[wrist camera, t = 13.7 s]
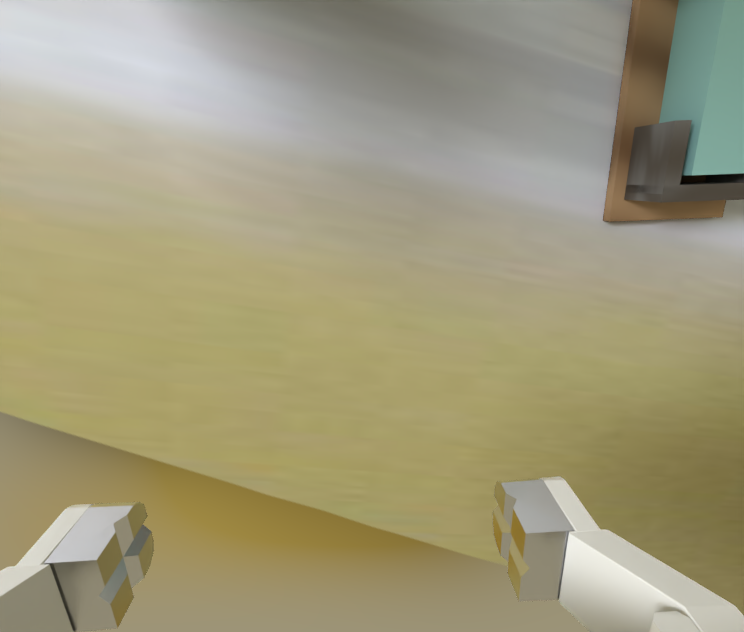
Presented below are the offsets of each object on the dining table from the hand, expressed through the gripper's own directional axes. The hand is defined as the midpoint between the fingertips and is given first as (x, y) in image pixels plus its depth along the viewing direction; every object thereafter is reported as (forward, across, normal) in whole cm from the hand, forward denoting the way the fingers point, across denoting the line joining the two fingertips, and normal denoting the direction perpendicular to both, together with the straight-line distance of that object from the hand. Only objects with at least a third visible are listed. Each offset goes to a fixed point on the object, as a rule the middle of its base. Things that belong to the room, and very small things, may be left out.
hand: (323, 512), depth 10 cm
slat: (+28, -28, -15) cm, 42 cm away
